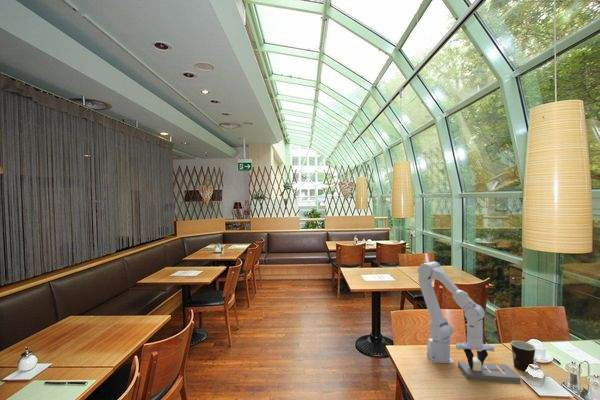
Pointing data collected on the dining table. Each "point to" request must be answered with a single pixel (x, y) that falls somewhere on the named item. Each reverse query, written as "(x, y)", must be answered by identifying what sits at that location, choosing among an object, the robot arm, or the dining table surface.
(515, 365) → the coffee mug
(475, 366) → the slider knob
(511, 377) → the slider panel
